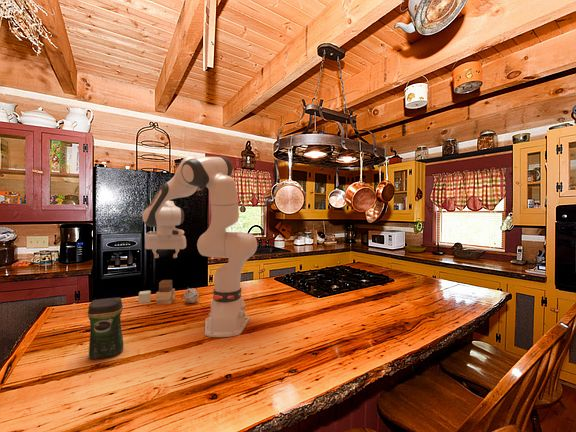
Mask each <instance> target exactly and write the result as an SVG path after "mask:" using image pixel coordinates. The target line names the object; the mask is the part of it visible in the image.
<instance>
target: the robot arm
mask: <svg viewBox="0 0 576 432" xmlns="http://www.w3.org/2000/svg"><path fill="white" fill-rule="evenodd" d="M233 169H234V168H233V165H232V162H231V160H229V158H227V157H225V156H220V155H218V156H201V157H196V156H194V155H188V156H186V157H184V158H183V159H182V161H181V162H180V163H179V164H178V166H177V168H176V171H175V173H174V175H173V176H172V177H171V178H170V180H168V181H167V182H165V183H163V184H161V186H160V187H159V188H158V190H157V192H156V193H155V194H154V196H153V198H152V200H151V201H150V203H149V204H148V205H147V206H146V208H145V209H143V212H142V221H143V223H144V224H145V225H146V226H147V227H150V228H155V227H156V231H148V232H146V233H145V235H144V237H145V242H144V248H145V249H146V250H152V251H151V252H152V253H153V255H154V259H158V258H160V256H159V255H160V254H159V253H157V250H174V251H175V253H173V255H172V258H173V259H176V258H178V253H179V252H180V250H184V249H186V248H187V239H186V238H187V237H186V236H185V235H184V234H185V231H184V230H183V229H180V228H177V227H176V226H180V225H181V224H183V222H184V221H185V212H184V209H183V208H181V207H179V206H176V204H175V202H174V201H173V200H175V199H180V198H186V197H187V198H188V197H190V196H192V195H193V194H195V192H197V189H198V188H199V189H201V190H203V189H205V188H207V189H208V191H209V194H210V197H209V198H210V209H211V212H210V214H211V220H210V224H209V227H208V228H207V229H206V230H205V232H203V233H202V234H201V235H200V236H199V238H198V240H197V243H196V247H197V250H198V253H199V255H201V256H202V257H209V258H227V259H228V260H227V263H226V264H223V265H221V266H219V267H218V268H217V269H216V270H215V272H214V289H213V292H212V296H213V297H212V300H211V301H210V312H209V313H208V317H206V318H205V322H204V324H205V325H204V336H205V337H210V338H229V337H230V338H231V337H235V336H240V335H241V334H242V332H243V331H244V329H245V327H246V326H247V324H248V323H249V321H250V317H249V316H246V308H245V307H246V304H245V300H244V299H243V298H242V291H243V290H242V287H241V279H242V278H241V275H242V271H243V267H244V265H245V264H246V262H247V261H248V260H249V259H250V258H251V257H252V256H253V255H254V254H255V253H256V252H257V249H258V241H257V238H256V236H255V235H254V234H252V233H249V232H242V231H237V232H233V231H230V232H229V231H227V230H226V229H227V228H229V227H232V226H233V225H235V224H236V223H237V222H238V220H239V218H240V211H239V210H240V209H239V197H238V190H237V186H236V185H237V184H236V182H235V179H234V178H233V177H232V174H233Z"/></svg>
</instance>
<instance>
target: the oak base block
mask: <svg viewBox="0 0 576 432" xmlns="http://www.w3.org/2000/svg"><path fill="white" fill-rule="evenodd" d="M175 299H176V289H175V288H172V290H171V291H170V292H159V290H158V291H156V293H155V304H156V305H171V304H172V303H173V302H174V301H175Z"/></svg>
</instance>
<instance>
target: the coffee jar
mask: <svg viewBox="0 0 576 432" xmlns="http://www.w3.org/2000/svg"><path fill="white" fill-rule="evenodd" d="M122 302H123V301H122V298H121V297H120V296H119V297H109V298H100V299H94V300H92V301H91V302H89V305H88V310H87V317H88V320H89V323H90V330H89V333H90V334H89V344H88V345H89V346H88V359H91V360H98V359H104V358H110V357H114V356H117V355H119V354H120V353H121V352H122V351H123V349H124V338H123V337H124V336H123V331H122V323H121V321H122V320H121V315H122V313H123V308H124V307H123V303H122Z"/></svg>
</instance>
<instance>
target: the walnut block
mask: <svg viewBox="0 0 576 432" xmlns="http://www.w3.org/2000/svg"><path fill="white" fill-rule="evenodd" d="M172 289H173V279H163V280H160V282H158V291H159V292H170V291H171V290H172Z"/></svg>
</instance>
